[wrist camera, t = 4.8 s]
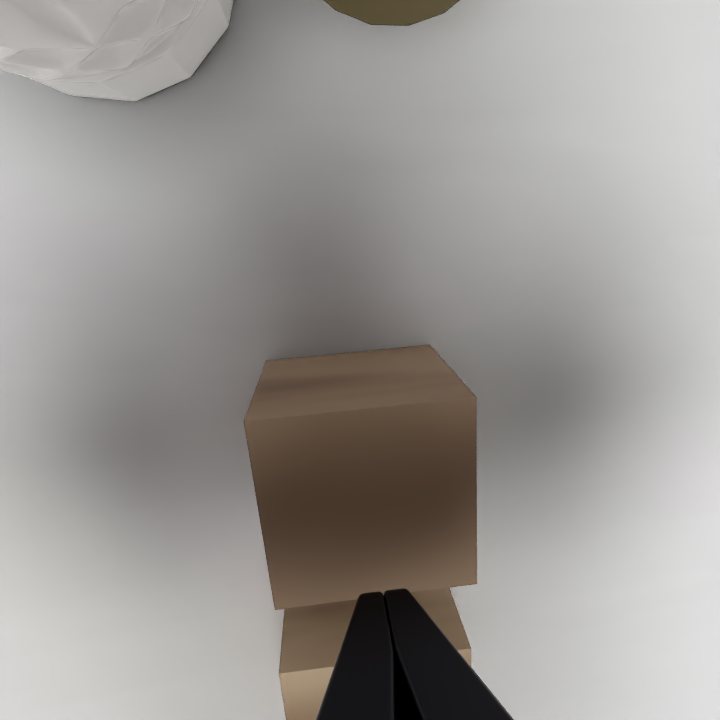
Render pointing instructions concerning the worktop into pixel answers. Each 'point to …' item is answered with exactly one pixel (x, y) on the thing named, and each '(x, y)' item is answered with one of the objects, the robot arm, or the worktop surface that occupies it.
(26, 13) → the white cup
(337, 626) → the tan marked cube block
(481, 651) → the worktop surface
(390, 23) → the cork
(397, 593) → the robot arm
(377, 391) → the plain block
